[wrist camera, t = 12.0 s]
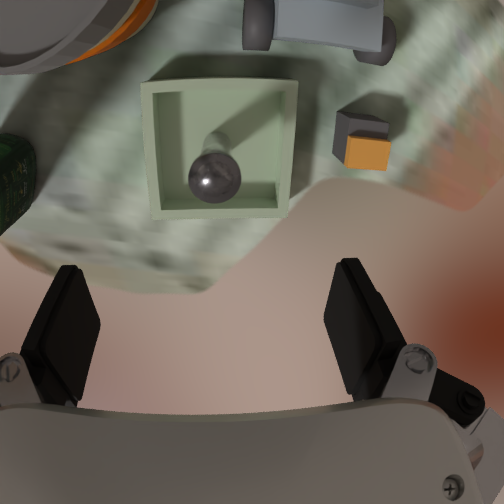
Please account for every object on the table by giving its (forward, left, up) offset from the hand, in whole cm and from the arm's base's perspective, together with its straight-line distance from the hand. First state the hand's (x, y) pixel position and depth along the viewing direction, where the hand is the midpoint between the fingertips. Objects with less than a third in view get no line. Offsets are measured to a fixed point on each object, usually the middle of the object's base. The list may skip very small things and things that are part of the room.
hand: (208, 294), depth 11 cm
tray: (0, 0, -21) cm, 21 cm away
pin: (0, 0, -21) cm, 21 cm away
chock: (-1, +13, -22) cm, 25 cm away
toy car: (-16, +8, -21) cm, 28 cm away
